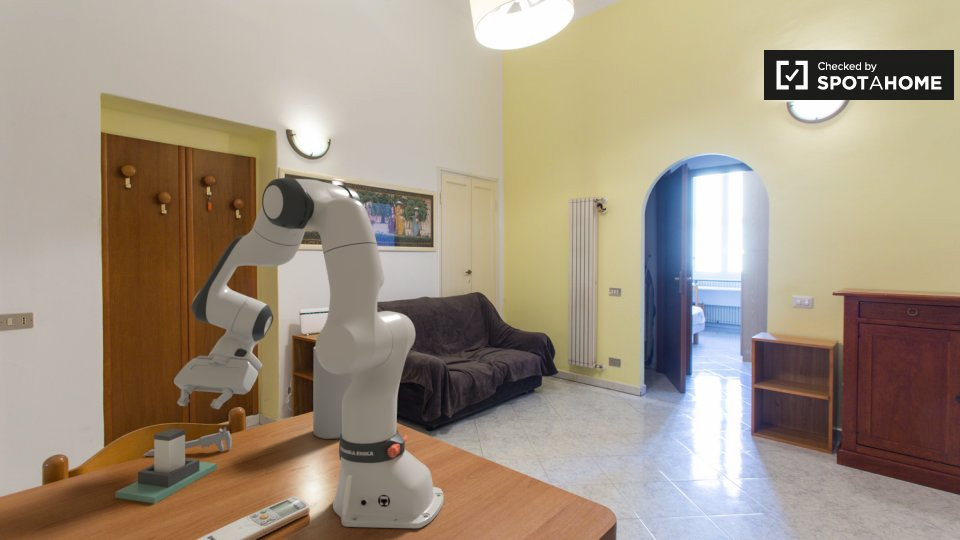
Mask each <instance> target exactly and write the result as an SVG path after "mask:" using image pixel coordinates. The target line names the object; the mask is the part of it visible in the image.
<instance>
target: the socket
mask: <svg viewBox="0 0 960 540" xmlns="http://www.w3.org/2000/svg"><path fill="white" fill-rule="evenodd" d="M217 465H218V464H217V463H213V462H207V461H200V459H195V458H186V457H185V465H184V466H182V467H180V468H178V469H176V470H174V471H172V472H170V473H162V472H155V471H154V464H151V465H149V466H147V467H145V468H143V469H141V470H139V471H137V481H135V482H133V483H130V484H129V485H127V486H125V487H123V488H121V489H118V490H116V491H115V498H116V499H123V500H128V501H129V500H130V501H137V502H143V503H147V504H156V503H158V502H160V501H162V500H163V499H165V498H167V497H169V496H171V495H173V494H175V493H176V492H178V491H179V490H182V489H183V488H185V487H186V486H187V487H188V485H189V486H190V484H192V483H194V482H196V481H198V480H199V479H202V478H203V477H205V476H206V475H208V474H210V473H211V472H213V471H216V470H217V469H218V466H217Z"/></svg>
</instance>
